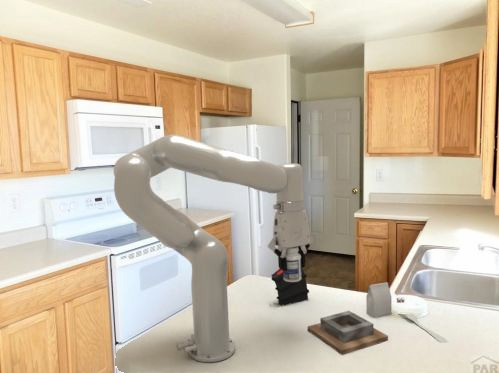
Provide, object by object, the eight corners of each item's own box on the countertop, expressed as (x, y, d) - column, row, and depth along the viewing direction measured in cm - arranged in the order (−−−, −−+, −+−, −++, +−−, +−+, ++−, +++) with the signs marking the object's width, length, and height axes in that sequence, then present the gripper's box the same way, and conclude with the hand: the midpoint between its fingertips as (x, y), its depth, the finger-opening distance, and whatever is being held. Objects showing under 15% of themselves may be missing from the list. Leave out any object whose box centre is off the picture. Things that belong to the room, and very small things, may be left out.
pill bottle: (289, 275, 120) (288, 243, 119) (305, 278, 117) (304, 245, 116) (279, 280, 116) (278, 247, 115) (295, 283, 112) (294, 250, 111)
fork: (441, 353, 108) (442, 344, 108) (394, 314, 128) (395, 306, 127) (450, 351, 109) (451, 342, 108) (402, 313, 128) (403, 305, 128)
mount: (342, 354, 104) (341, 339, 104) (307, 330, 118) (307, 316, 118) (388, 339, 111) (388, 325, 110) (350, 318, 125) (350, 305, 125)
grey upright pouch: (391, 314, 127) (391, 284, 126) (373, 318, 125) (373, 287, 124) (383, 310, 131) (383, 280, 130) (366, 313, 128) (366, 283, 127)
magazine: (316, 293, 143) (300, 259, 138) (288, 316, 138) (271, 281, 134) (310, 290, 146) (294, 257, 142) (282, 312, 141) (265, 278, 137)
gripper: (270, 211, 107) (272, 277, 109) (322, 205, 114) (323, 266, 116) (257, 208, 114) (260, 270, 116) (307, 202, 121) (309, 260, 123)
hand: (292, 267), depth 116 cm, fingers closed on pill bottle, 5 cm apart
